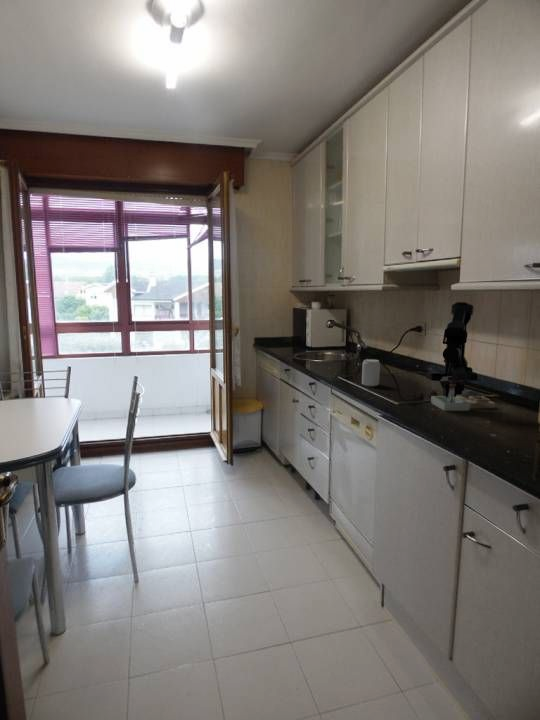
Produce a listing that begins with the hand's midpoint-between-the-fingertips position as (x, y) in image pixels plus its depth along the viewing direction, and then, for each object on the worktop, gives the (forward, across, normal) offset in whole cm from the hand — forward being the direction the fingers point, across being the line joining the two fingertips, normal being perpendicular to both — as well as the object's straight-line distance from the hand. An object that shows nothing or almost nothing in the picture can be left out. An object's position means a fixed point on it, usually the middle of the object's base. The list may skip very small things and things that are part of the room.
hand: (450, 397), depth 178 cm
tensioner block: (+4, +12, +4) cm, 13 cm away
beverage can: (+4, -20, +40) cm, 45 cm away
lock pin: (+2, 0, 0) cm, 2 cm away
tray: (+4, 0, 0) cm, 4 cm away
